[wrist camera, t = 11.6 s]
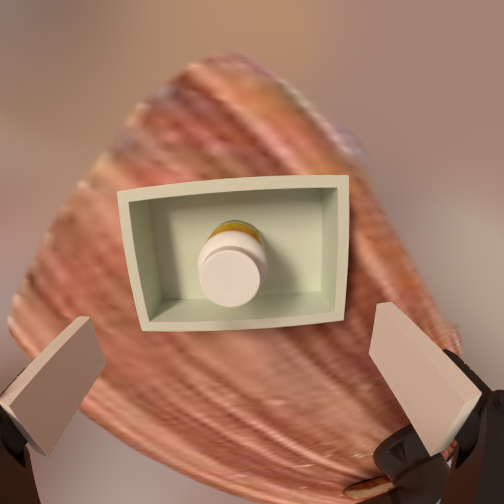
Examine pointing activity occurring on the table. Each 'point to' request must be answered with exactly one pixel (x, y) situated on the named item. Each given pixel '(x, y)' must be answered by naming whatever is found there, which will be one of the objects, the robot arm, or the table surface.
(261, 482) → the table surface
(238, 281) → the supplement bottle
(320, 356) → the table surface
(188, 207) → the bin
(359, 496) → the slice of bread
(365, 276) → the table surface
